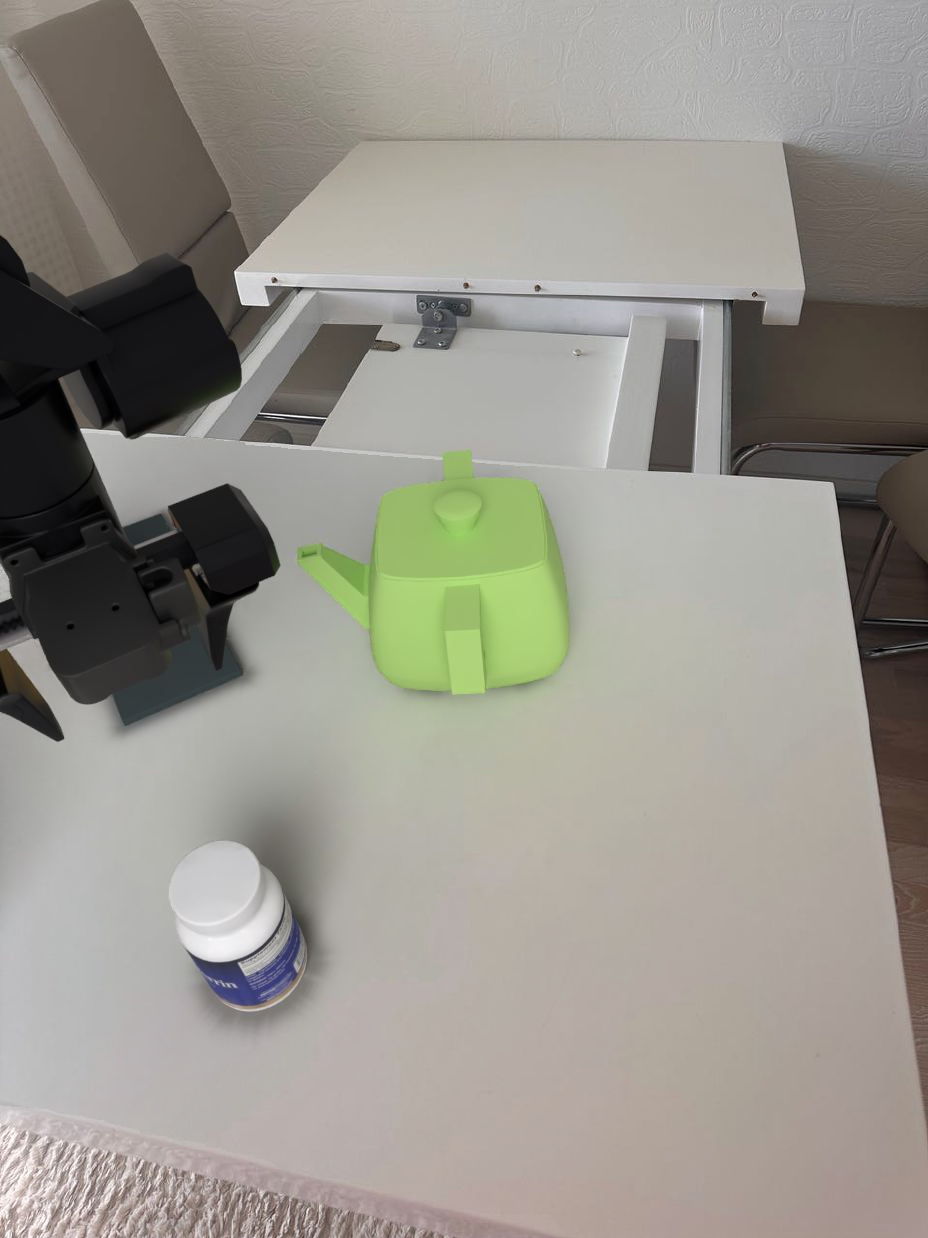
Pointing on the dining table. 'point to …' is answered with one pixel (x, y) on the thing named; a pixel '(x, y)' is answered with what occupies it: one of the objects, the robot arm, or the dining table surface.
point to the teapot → (456, 583)
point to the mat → (188, 659)
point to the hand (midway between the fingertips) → (140, 699)
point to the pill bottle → (237, 925)
